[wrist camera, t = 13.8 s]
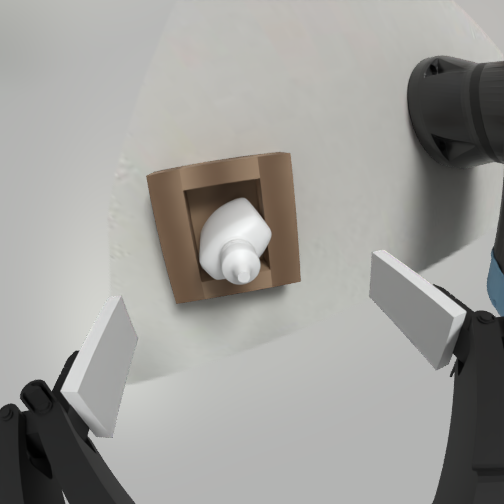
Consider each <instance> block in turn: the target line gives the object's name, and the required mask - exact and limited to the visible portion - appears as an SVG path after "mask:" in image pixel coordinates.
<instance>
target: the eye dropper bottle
mask: <svg viewBox="0 0 504 504" xmlns="http://www.w3.org/2000/svg"><path fill="white" fill-rule="evenodd" d="M271 234H272V233H271V230H270V228H269V227H268V225H267V224H266V222H265V221H264V220H263V218H262V217H261V216H260V214H259V213H258V212H257V211H256V209H255V208H254V207H253V206H252V204H251V203H250V202H249V201H248V200H247V199H246V198H237V199H234V200H232V201H230V202H227V203H226V204H224V205H222V206H221V207H219V208H218V209H217V210H216V211H215V212H214V213H213V214H212V215H211V216H210V217H209V218H208V220H207V221H206V223H205V224H204V226H203V228H202V230H201V235H200V256H199V257H200V264H201V266H202V267H203V269H204V270H205V271H206V272H207V273H208V274H209V275H210V276H211V277H213V278H214V279H216V280H221V279H226V280H228V281H229V282H231V283H233V284H238V285H242V284H247V283H249V282H251V281H252V280H254V279H255V278H256V277H257V275H258V274H259V271H260V267H261V266H260V265H261V264H260V260H259V258H260V256H261V255H262V254H263V252H264V251H265V249H266V247H267V245H268V243H269V241H270V239H271Z"/></svg>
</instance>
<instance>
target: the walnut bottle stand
mask: <svg viewBox="0 0 504 504" xmlns="http://www.w3.org/2000/svg"><path fill="white" fill-rule="evenodd" d="M146 177H147V182H148V188H149V193H150V198H151V203H152V208H153V212H154V217H155V222H156V226H157V231H158V235H159V239H160V244H161V248H162V252H163V256H164V260H165V264H166V268H167V272H168V275H169V279H170V283H171V286H172V290H173V294H174V297H175V301H176V304H179V303H185V302H191V301H197V300H203V299H209V298H215V297H221V296H227V295H232V294H238V293H243V292H249V291H254V290H260V289H265V288H270V287H276V286H281V285H286V284H291V283H296V282H301V278H300V261H299V245H298V231H297V219H296V207H295V195H294V184H293V174H292V164H291V155H290V153H282V152H276V153H267V154H258V155H250V156H243V157H236V158H229V159H222V160H216V161H210V162H204V163H198V164H192V165H187V166H181V167H176V168H171V169H166V170H161V171H157V172H154V173H152V174H149V175H147V176H146ZM237 198H246V199H247V200H248V201H249V202H250V203H251V204H252V206H253V207H254V208H255V209H256V211H257V212H258V213H259V214H260V216H261V217H262V218H263V220H264V221H265V222H266V224H267V225H268V227H269V228H270V230H271V233H272V234H271V239H270V241H269V243H268V245H267V247H266V249H265V251H264V252H263V254H262V255H261V256H260V258H259V260H260V264H261V265H260V266H261V267H260V271H259V274H258V275H257V277H256V278H255V279H254V280H252V281H251V282H249V283H247V284H242V285H238V284H233V283H231V282H229V281H228V280H226V279H221V280H216V279H214V278H213V277H211V276H210V275H209V274H208V273H207V272H206V271H205V270H204V269H203V267H202V266H201V264H200V257H199V256H200V235H201V230H202V228H203V226H204V224H205V223H206V221H207V220H208V218H209V217H210V216H211V215H212V214H213V213H214V212H215V211H216V210H217V209H218V208H219V207H221V206H222V205H224V204H226V203H227V202H230V201H232V200H234V199H237Z"/></svg>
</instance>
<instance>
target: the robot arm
mask: <svg viewBox="0 0 504 504" xmlns="http://www.w3.org/2000/svg"><path fill="white" fill-rule="evenodd" d="M408 103H409V111H410V116H411V120H412V123H413V126H414V129H415V132H416V134H417V136H418V138H419V140H420V142H421V144H422V146H423V147H424V149H425V150H426V151H427V153H428V154H429V155H430V156H431V157H432V158H433V159H434V160H436V161H437V162H438V163H440V164H442V165H445V166H449V167H454V168H459V169H465V168H470V167H474V166H479V165H483V164H487V163H491V162H497V163H502V164H504V61H499V62H489V63H475V62H471V61H467V60H463V59H459V58H454V57H450V56H435V57H431V58H427V59H424V60H422V61H421V62H420V63H418V64H417V66H416V67H415V68H414V70H413V72H412V74H411V77H410V81H409V87H408ZM491 258H492V259H491V264H490V269H489V273H488V278H487V291H488V295H489V298H490V300H491V302H492V304H493V306H494V307H495V308H496V310H497V311H498V313H499V315H500V316H501V317H495V316H494V315H493V314H491V313H489V312H487V311H476V312H473V311H472V310H471V309H469V308H468V307H467V306H466V305H465V304H463V303H462V302H461V301H459V300H458V299H456V298H455V297H454V296H453V295H450V293H449V292H448V291H446V290H445V289H444V288H442V287H439V286H437V285H435V284H433V285H432V284H430V283H429V282H428V281H427V280H425V279H424V278H423V277H421V276H420V275H418V274H417V273H416V272H414V271H413V270H412V269H410V268H409V267H407V266H406V265H405V264H403V263H402V262H400V261H399V260H398V259H396V258H395V257H393V256H392V255H390V254H389V253H388V252H386V251H385V250H380V251H375V252H372V261H371V278H370V292H369V297H370V298H371V299H372V300H373V301H374V302H375V303H376V304H377V305H378V306H379V307H380V308H381V310H383V312H384V313H385V314H386V315H387V316H388V317H389V318H390V319H391V320H392V321H393V322H394V323H395V325H396V326H397V327H398V328H399V329H400V330H401V331H402V332H403V333H404V334H405V335H406V337H407V338H408V339H409V340H410V341H411V342H412V343H413V344H414V345H415V347H416V348H417V349H418V350H419V351H420V352H421V354H422V355H423V356H424V357H425V358H426V359H427V360H428V361H429V363H430V364H431V365H432V366H433V367H434V368H435V370H438V369H440V368H442V367H444V366H446V365H448V364H449V362H450V359H451V357H452V354H454V355H455V356H456V357H457V359H456V362H455V364H454V367H453V369H452V372H451V374H450V377H452V375H453V373H454V372H455V378H454V394H453V406H452V416H451V423H450V430H449V437H448V443H447V448H446V454H445V459H444V464H443V468H442V472H441V476H440V480H439V485H438V488H437V492H436V495H435V498H434V501H433V503H432V504H504V179H503V190H502V199H501V207H500V215H499V221H498V227H497V233H496V238H495V243H494V247H493V249H492V251H491ZM137 340H138V337H137V335H136V332H135V330H134V327H133V325H132V322H131V320H130V317H129V314H128V312H127V309H126V306H125V304H124V301H123V298H122V295H120V296H113V297H108V299H107V301H106V302H105V304H104V306H103V308H102V310H101V311H100V313H99V315H98V317H97V319H96V320H95V322H94V324H93V326H92V328H91V330H90V332H89V334H88V335H87V337H86V339H85V341H84V343H83V345H82V347H81V349H80V351H75V352H74V353H73V354H72V355H71V356H70V357H69V358H68V359H67V361H66V363H65V365H64V368H63V369H62V371H61V374H60V375H59V377H58V379H57V382H56V384H55V386H54V388H53V390H52V391H51V390H50V389H49V387H48V386H47V384H46V383H45V381H43V380H34V381H31V382H30V383H28V384H27V385H26V386H25V387H24V388H23V389H22V391H21V394H20V399H21V400H22V402H23V403H24V404H25V406H26V407H27V408H28V409H29V411H24V412H21V411H20V410H19V408H18V407H17V406H16V405H15V404H7V405H5V406H3V407H2V408H1V409H0V504H65V500H64V497H63V493H62V491H63V492H64V494H65V497H66V498H67V500H68V502H69V504H135V503H134V501H133V500H132V499H131V497H130V496H129V495H128V494H127V492H126V491H125V490H124V488H123V487H122V486H121V484H120V483H119V482H118V480H117V479H116V478H115V476H114V475H113V473H112V472H111V470H110V469H109V468H108V466H107V465H106V463H105V462H104V460H103V459H102V457H101V455H100V454H99V452H98V451H97V449H96V447H95V446H94V444H93V443H92V441H91V440H90V438H89V437H88V436H87V435H88V431H89V429H90V430H91V431H92V432H93V433H94V434H95V436H96V437H106V438H113V433H114V428H115V424H116V420H117V415H118V411H119V407H120V403H121V399H122V395H123V390H124V386H125V383H126V379H127V375H128V372H129V368H130V364H131V361H132V357H133V354H134V350H135V347H136V344H137Z"/></svg>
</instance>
